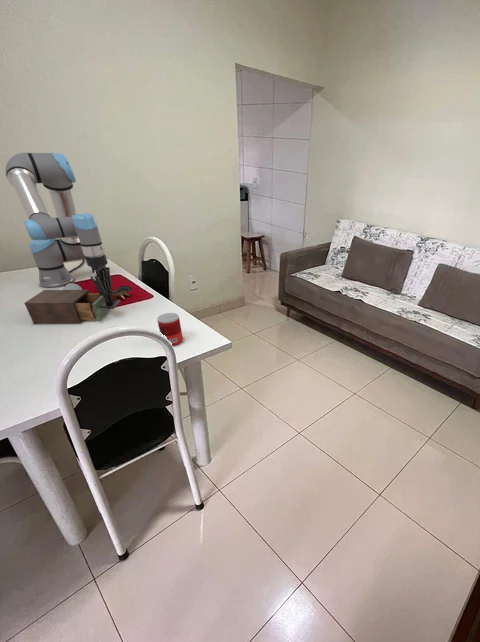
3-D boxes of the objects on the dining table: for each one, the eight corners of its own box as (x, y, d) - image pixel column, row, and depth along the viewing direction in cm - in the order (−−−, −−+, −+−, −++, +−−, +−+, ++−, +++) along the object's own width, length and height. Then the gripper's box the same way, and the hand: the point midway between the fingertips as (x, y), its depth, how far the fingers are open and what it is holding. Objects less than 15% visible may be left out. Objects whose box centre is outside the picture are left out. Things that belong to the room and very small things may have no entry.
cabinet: (94, 309, 152) (88, 289, 147) (80, 323, 140) (72, 302, 135) (52, 309, 150) (44, 289, 145) (33, 324, 139) (24, 303, 133)
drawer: (125, 308, 152) (121, 292, 148) (114, 320, 142) (109, 304, 137) (72, 308, 150) (66, 292, 146) (57, 321, 139) (50, 304, 135)
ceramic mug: (63, 304, 155) (57, 289, 151) (67, 298, 162) (62, 283, 158) (88, 303, 158) (83, 288, 154) (91, 296, 165) (87, 282, 161)
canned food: (187, 338, 133) (182, 314, 127) (174, 348, 126) (169, 323, 120) (171, 335, 135) (166, 311, 129) (158, 344, 128) (152, 319, 122)
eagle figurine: (121, 301, 158) (135, 291, 164) (110, 289, 155) (125, 280, 161) (116, 305, 163) (129, 296, 169) (105, 293, 160) (119, 285, 166)
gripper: (97, 260, 127) (114, 314, 140) (111, 250, 138) (125, 302, 151) (77, 259, 126) (95, 314, 139) (92, 250, 137) (108, 302, 150)
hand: (111, 308), depth 145 cm, fingers closed
